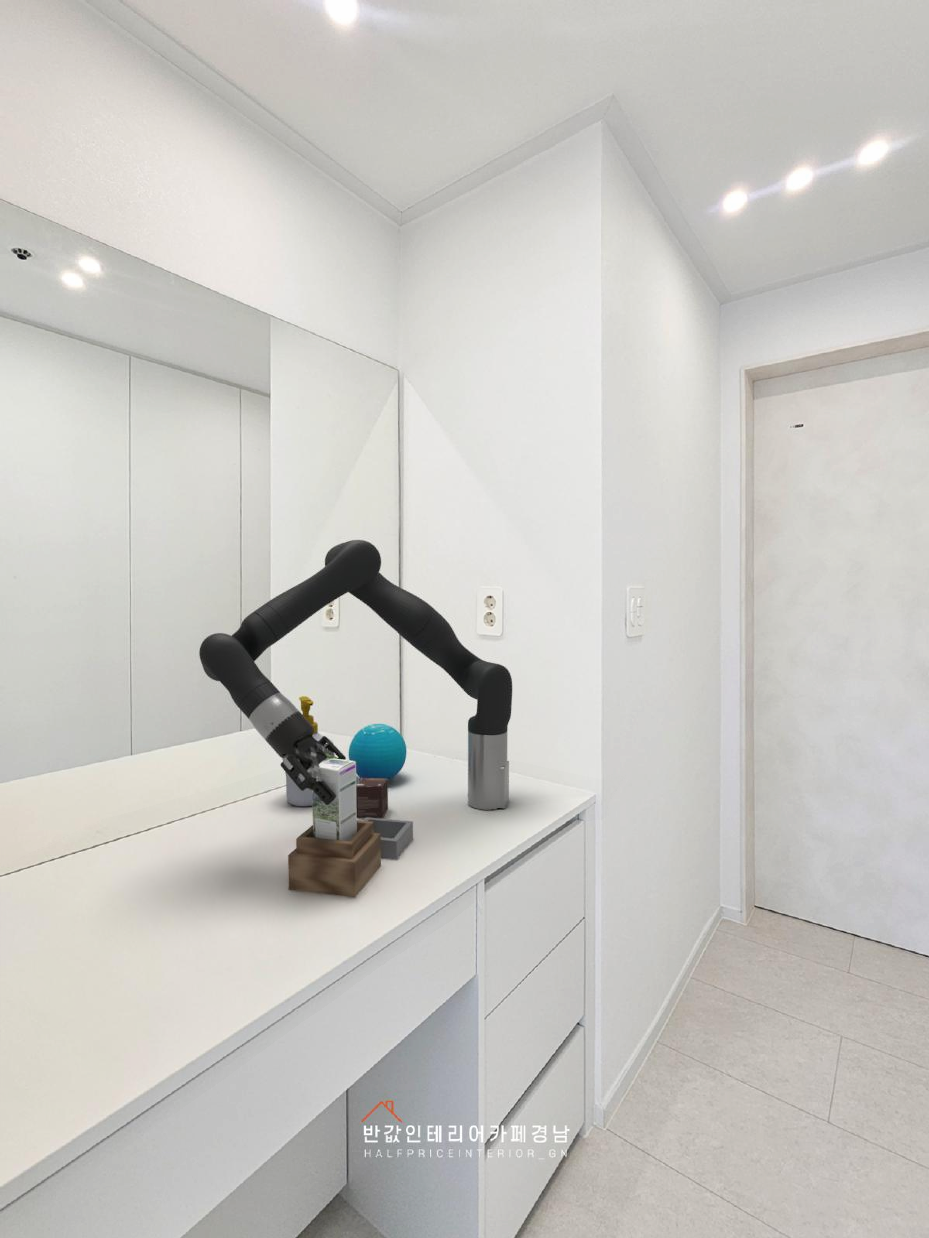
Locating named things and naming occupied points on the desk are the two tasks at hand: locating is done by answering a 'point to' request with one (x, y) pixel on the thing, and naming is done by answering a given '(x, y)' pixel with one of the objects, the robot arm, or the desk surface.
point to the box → (372, 797)
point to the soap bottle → (292, 790)
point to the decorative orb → (378, 751)
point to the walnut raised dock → (335, 862)
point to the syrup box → (336, 801)
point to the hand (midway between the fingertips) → (342, 793)
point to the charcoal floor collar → (392, 835)
